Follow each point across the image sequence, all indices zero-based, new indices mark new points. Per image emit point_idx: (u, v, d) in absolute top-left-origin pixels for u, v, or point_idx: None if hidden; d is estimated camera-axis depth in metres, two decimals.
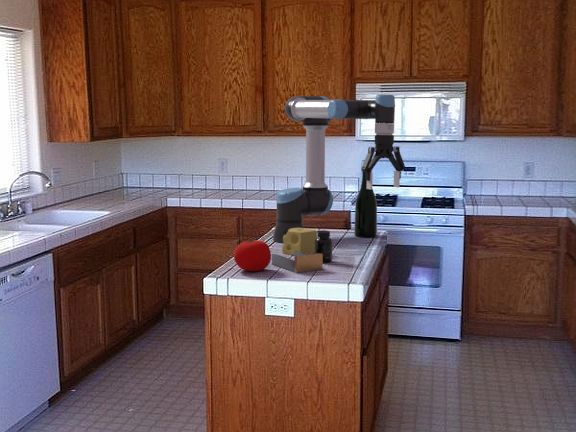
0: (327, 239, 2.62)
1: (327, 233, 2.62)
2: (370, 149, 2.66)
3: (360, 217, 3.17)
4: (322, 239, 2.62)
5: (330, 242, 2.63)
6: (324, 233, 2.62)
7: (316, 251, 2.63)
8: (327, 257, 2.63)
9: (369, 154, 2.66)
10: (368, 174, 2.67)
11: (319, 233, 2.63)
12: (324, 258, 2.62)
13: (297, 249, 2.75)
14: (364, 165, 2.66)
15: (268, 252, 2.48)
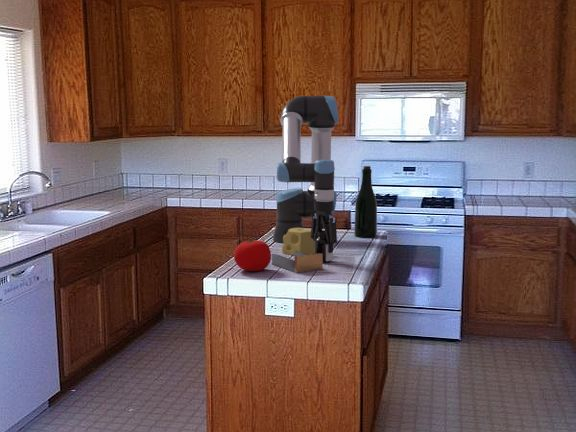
0: None
1: None
2: None
3: (360, 217, 3.17)
4: (322, 239, 2.62)
5: None
6: (324, 233, 2.62)
7: (316, 251, 2.63)
8: None
9: None
10: (314, 242, 2.69)
11: (319, 233, 2.63)
12: (324, 258, 2.62)
13: (297, 249, 2.75)
14: None
15: (268, 252, 2.48)
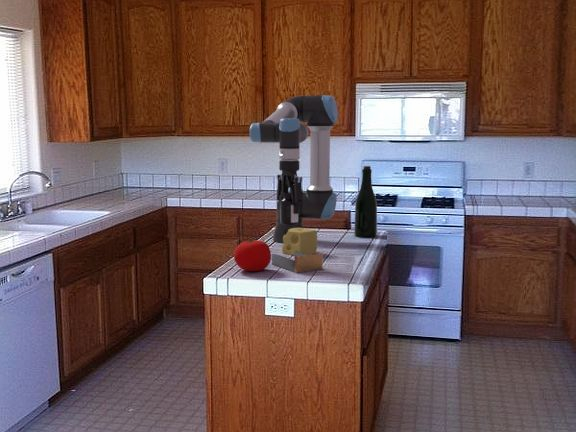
0: None
1: None
2: None
3: (360, 217, 3.17)
4: (287, 200, 2.55)
5: None
6: (289, 194, 2.55)
7: (281, 212, 2.56)
8: None
9: None
10: None
11: (284, 194, 2.55)
12: (289, 220, 2.55)
13: (297, 249, 2.75)
14: None
15: (268, 252, 2.48)
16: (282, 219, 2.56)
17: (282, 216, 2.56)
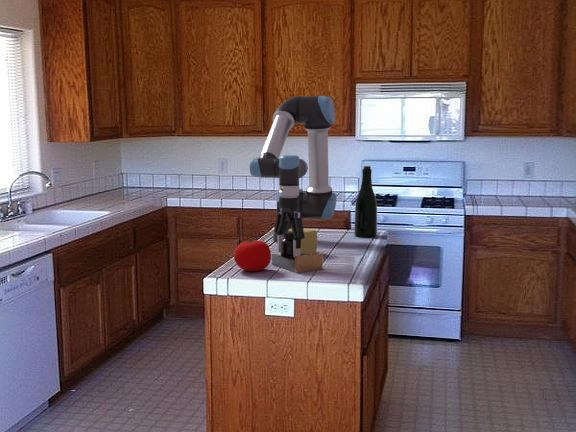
0: None
1: None
2: None
3: (360, 217, 3.17)
4: (288, 240, 2.57)
5: None
6: (290, 234, 2.57)
7: (282, 252, 2.58)
8: (292, 259, 2.57)
9: None
10: (278, 236, 2.65)
11: (285, 234, 2.57)
12: None
13: None
14: None
15: (268, 252, 2.48)
16: None
17: None
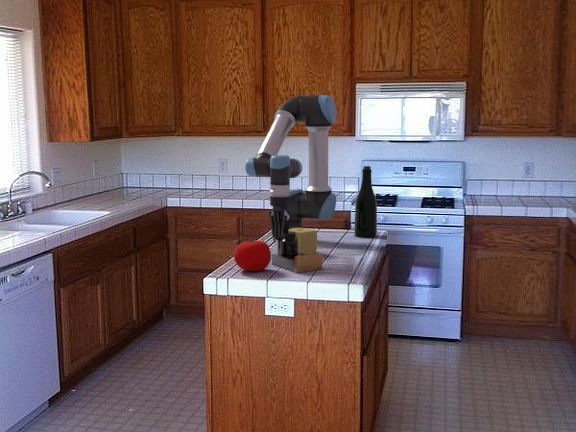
0: (293, 240, 2.57)
1: (293, 234, 2.57)
2: None
3: (360, 217, 3.17)
4: (288, 240, 2.57)
5: (296, 243, 2.57)
6: (290, 234, 2.57)
7: (282, 252, 2.58)
8: (292, 259, 2.57)
9: None
10: None
11: (285, 234, 2.57)
12: None
13: None
14: None
15: (268, 252, 2.48)
16: None
17: None
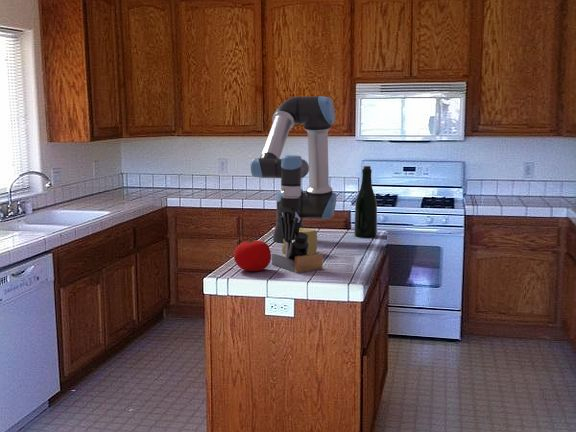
0: (303, 245, 2.50)
1: (304, 239, 2.50)
2: None
3: (360, 217, 3.17)
4: (298, 244, 2.50)
5: (306, 248, 2.51)
6: (301, 239, 2.49)
7: (290, 253, 2.53)
8: None
9: None
10: None
11: (296, 237, 2.50)
12: None
13: None
14: None
15: (268, 252, 2.48)
16: None
17: (290, 257, 2.53)
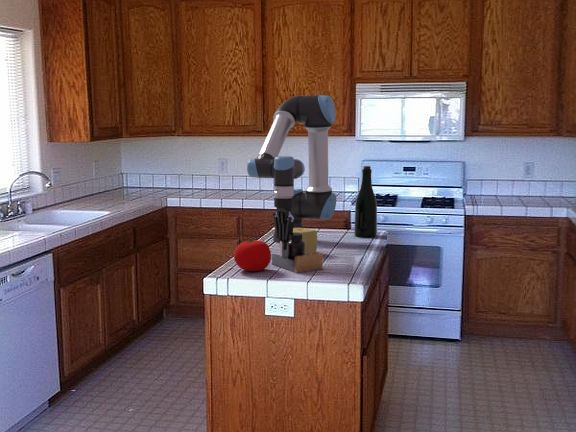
0: (299, 242, 2.53)
1: (299, 236, 2.53)
2: None
3: (360, 217, 3.17)
4: (294, 242, 2.53)
5: (302, 245, 2.54)
6: (296, 236, 2.53)
7: (288, 254, 2.55)
8: None
9: None
10: (280, 242, 2.64)
11: (291, 236, 2.54)
12: None
13: None
14: None
15: (268, 252, 2.48)
16: None
17: None
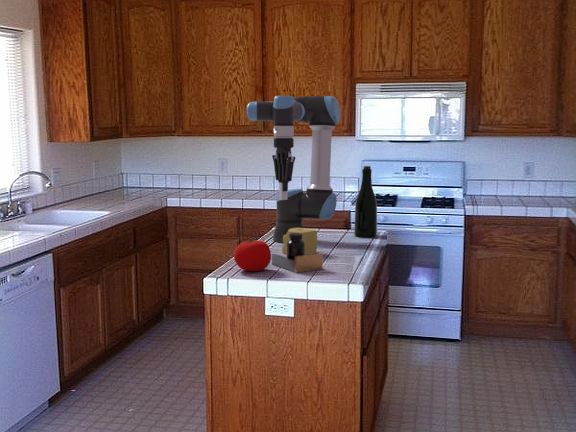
0: (299, 242, 2.54)
1: (299, 236, 2.54)
2: None
3: (360, 217, 3.17)
4: (293, 242, 2.53)
5: (302, 245, 2.54)
6: (295, 236, 2.53)
7: (287, 254, 2.55)
8: None
9: None
10: None
11: (291, 236, 2.54)
12: None
13: None
14: None
15: (268, 252, 2.48)
16: None
17: None
